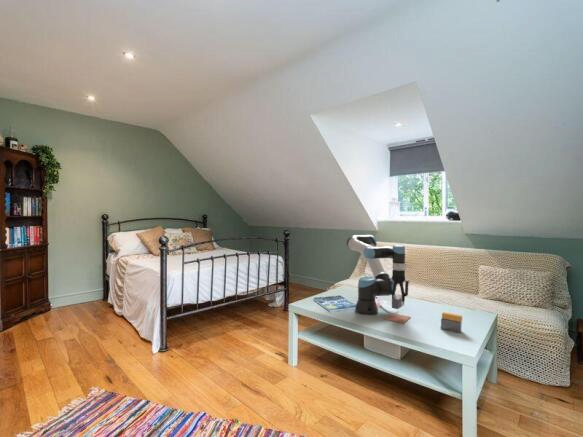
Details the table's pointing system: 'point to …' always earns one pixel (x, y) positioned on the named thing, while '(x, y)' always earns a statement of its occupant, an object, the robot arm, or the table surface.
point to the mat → (397, 318)
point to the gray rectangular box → (451, 325)
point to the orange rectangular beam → (452, 317)
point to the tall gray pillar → (396, 302)
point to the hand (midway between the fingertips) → (398, 305)
